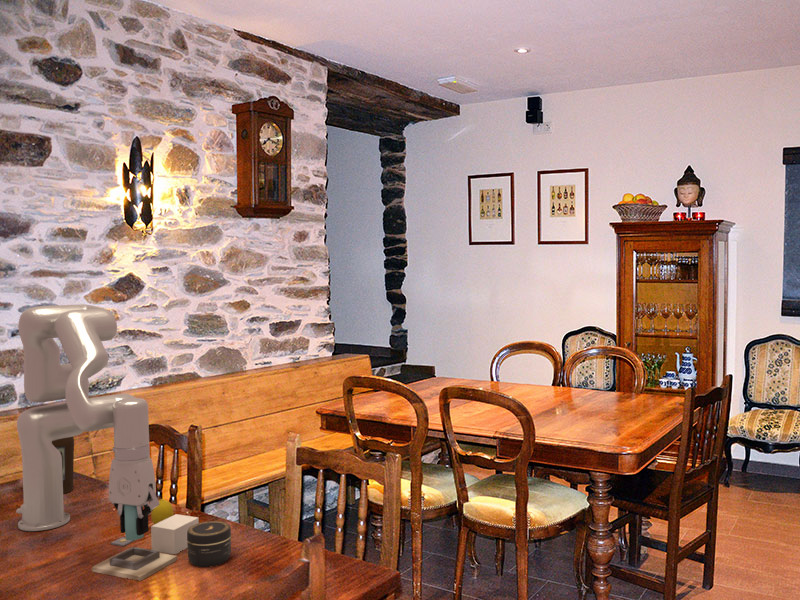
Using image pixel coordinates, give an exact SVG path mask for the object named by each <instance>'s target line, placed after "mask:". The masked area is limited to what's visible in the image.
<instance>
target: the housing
mask: <svg viewBox="0 0 800 600" xmlns="http://www.w3.org/2000/svg"><path fill="white" fill-rule="evenodd" d="M199 521H200V520H199V516H198V517H197V516H191V515H183V514H177V513H174V515H173V516H171V517H169V518H167V519H165V520H163V521H161V522H159V523H157V524H155V525H154V524H153V525H151V526H150V532H151V533H150V535H151V550H155V551H159V553H163V554H169V555H174V554H175V555H177V554H179V553H181V552H183V551H184V550H186V549H188V543H187V531H188V529H189V528H190V527H191V526H193V525H195V524H198V523H200V522H199ZM182 550H183V551H182ZM180 551H181V552H180Z"/></svg>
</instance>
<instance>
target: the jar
mask: <svg viewBox="0 0 800 600" xmlns="http://www.w3.org/2000/svg"><path fill="white" fill-rule="evenodd" d="M187 543H188V548H187V557H188V560H189V563H190V564H191V563H192V564H193V565H192V564H191V565H192V566H194V565H195V566H194V567H197V566H198V568H211V567H210V566H213V567H217V566H216V565H218V566H220V564H221V565H223V564H225V563H226V562H227V561H228V560H229V559H230V557H231V552H232V530H231V525H230V524H229V523H227V522H225V521H219V520H218V521H217V520H211V521H210V520H209V521H202V522H199V523H198V524H195V525H193V526H191V527H190V528H189V529H188V531H187ZM224 562H225V563H224Z"/></svg>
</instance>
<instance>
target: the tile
mask: <svg viewBox="0 0 800 600" xmlns="http://www.w3.org/2000/svg"><path fill="white" fill-rule="evenodd" d="M134 542H136V540H126V539H125V537H124V536H122V537H120V538H118V539H116V540H113V541H112V542H110V545H113V546H119V547H126V546H128V545H130V544H131V543H134ZM125 545H126V546H125Z"/></svg>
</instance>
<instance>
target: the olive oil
mask: <svg viewBox="0 0 800 600" xmlns="http://www.w3.org/2000/svg"><path fill="white" fill-rule="evenodd" d="M52 444H53V446H54V447H55V448H56V449H57V450H58V451H59V452H60V454H61V457H62V475H63V495H65V494H68V493H70V492H73V490H74V466H75V465H74V462H75V461H74V460H75V459H74V458H75V456H74V455H75V439H74V436H72V437H67V438H62V439H57V440H54V441H52Z"/></svg>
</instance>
